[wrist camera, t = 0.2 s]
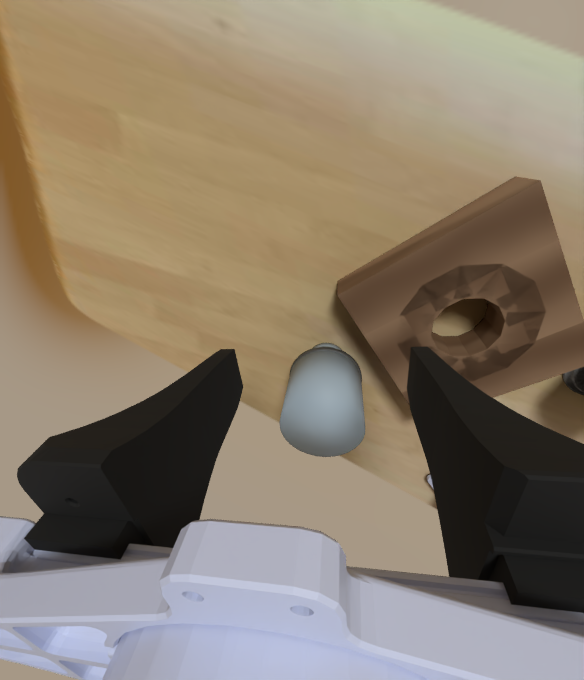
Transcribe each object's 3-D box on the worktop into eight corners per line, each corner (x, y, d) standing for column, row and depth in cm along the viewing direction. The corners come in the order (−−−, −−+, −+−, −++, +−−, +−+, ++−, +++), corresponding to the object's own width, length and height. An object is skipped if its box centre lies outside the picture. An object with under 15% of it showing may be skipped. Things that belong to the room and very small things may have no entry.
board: (570, 340, 21) (596, 362, 19) (414, 399, 25) (420, 422, 23) (515, 176, 17) (540, 180, 15) (337, 280, 21) (337, 295, 19)
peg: (371, 367, 24) (381, 441, 18) (317, 391, 26) (309, 465, 20) (337, 318, 23) (336, 382, 16) (281, 348, 25) (261, 414, 18)
